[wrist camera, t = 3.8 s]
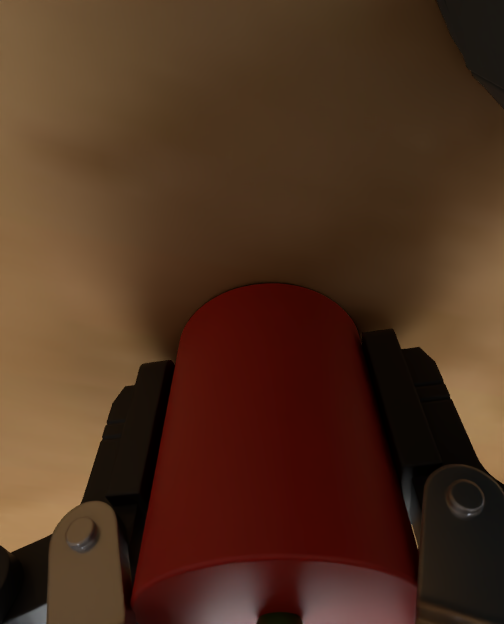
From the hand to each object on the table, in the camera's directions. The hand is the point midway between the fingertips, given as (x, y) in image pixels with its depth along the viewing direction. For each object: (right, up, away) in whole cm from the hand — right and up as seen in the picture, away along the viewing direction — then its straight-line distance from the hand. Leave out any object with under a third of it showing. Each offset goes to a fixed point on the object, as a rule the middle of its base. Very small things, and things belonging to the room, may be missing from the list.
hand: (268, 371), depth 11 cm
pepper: (0, 0, 0) cm, 1 cm away
